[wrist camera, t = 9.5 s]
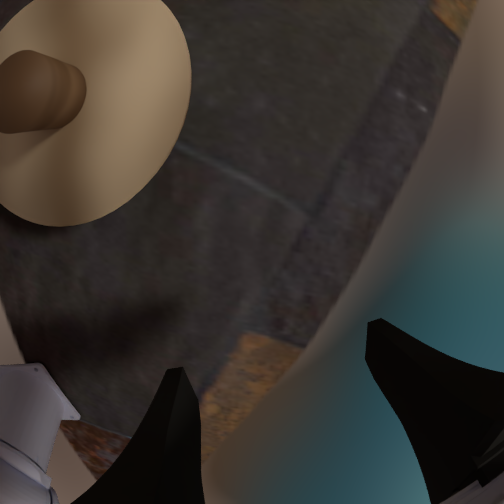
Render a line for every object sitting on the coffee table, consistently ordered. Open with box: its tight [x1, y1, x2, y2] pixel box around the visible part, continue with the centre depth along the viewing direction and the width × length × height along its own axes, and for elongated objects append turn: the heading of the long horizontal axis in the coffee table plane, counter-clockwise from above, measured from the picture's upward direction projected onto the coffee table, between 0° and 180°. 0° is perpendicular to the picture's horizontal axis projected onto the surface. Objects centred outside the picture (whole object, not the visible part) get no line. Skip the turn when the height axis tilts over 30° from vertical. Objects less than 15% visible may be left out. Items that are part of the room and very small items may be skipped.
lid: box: [0, 0, 192, 227], centre depth 9 cm, size 12×12×4 cm
